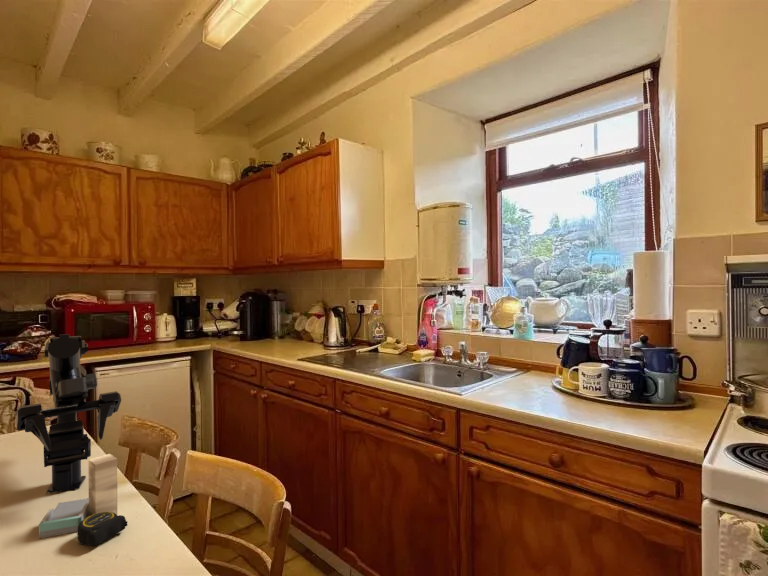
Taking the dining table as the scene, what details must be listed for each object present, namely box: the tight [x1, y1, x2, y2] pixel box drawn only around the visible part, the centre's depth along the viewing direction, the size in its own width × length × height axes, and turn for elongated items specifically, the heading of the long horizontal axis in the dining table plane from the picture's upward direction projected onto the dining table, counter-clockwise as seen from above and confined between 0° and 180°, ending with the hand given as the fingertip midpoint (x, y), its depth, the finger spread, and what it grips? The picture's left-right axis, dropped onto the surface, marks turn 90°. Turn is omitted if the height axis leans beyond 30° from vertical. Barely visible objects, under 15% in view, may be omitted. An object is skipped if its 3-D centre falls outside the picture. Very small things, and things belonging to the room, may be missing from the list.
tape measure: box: [76, 512, 128, 547], centre depth 84 cm, size 7×7×4 cm
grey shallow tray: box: [38, 497, 89, 539], centre depth 90 cm, size 12×7×3 cm, turn 22°
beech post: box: [87, 453, 119, 516], centre depth 92 cm, size 4×4×12 cm
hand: (76, 444), depth 94 cm, fingers open, 9 cm apart
